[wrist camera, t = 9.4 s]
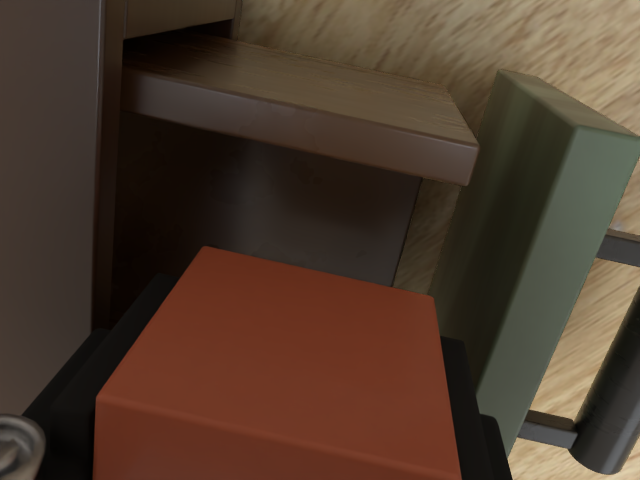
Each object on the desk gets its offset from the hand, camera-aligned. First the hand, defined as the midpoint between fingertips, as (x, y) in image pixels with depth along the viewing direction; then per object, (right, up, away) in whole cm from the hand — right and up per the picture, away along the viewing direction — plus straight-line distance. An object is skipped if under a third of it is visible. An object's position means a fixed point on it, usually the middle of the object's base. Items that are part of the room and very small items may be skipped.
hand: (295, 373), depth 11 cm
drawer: (+1, +3, +7) cm, 8 cm away
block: (0, 0, 0) cm, 0 cm away
